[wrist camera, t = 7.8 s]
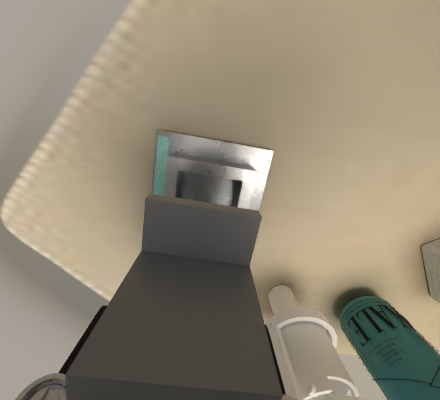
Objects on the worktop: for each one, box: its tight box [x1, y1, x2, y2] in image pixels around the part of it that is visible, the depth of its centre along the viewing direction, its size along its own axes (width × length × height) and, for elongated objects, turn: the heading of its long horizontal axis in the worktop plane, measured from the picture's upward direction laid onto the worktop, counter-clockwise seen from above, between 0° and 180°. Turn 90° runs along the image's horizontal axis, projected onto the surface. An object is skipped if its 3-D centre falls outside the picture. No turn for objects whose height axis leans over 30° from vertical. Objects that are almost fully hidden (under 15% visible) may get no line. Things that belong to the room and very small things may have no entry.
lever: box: [65, 194, 283, 400], centre depth 8 cm, size 11×4×9 cm, turn 170°
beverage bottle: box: [340, 296, 440, 400], centre depth 18 cm, size 6×7×20 cm
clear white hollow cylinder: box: [265, 285, 366, 400], centre depth 20 cm, size 7×7×15 cm
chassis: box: [152, 130, 273, 211], centre depth 21 cm, size 14×11×4 cm
